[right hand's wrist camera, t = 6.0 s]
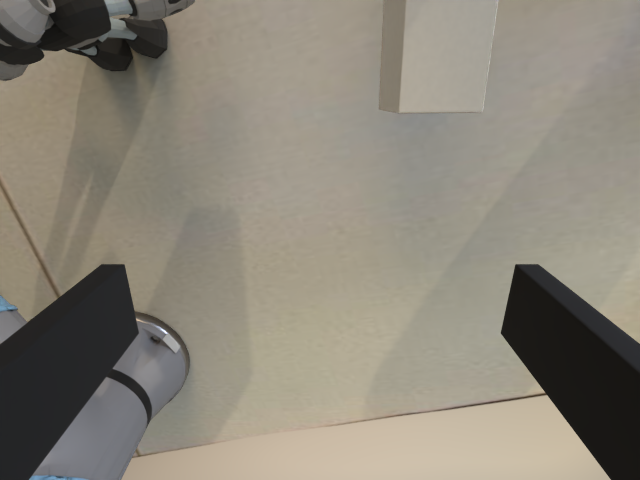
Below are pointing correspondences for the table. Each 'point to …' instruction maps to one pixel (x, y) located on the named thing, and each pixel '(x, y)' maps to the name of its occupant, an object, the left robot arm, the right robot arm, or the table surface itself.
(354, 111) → the table surface
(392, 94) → the bar
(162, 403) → the right robot arm
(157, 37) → the robot
